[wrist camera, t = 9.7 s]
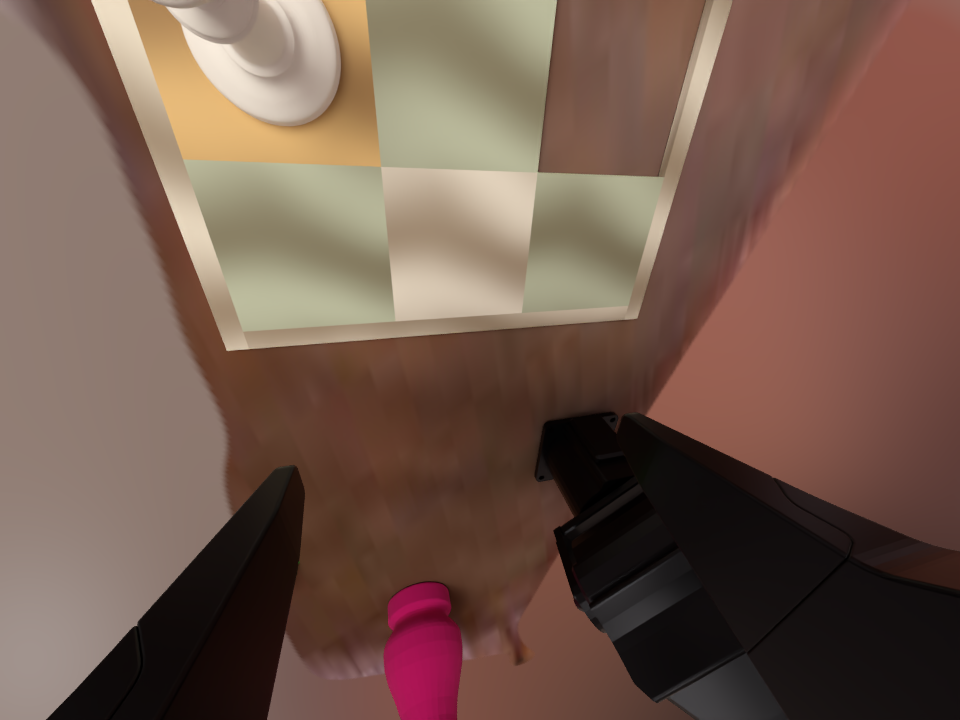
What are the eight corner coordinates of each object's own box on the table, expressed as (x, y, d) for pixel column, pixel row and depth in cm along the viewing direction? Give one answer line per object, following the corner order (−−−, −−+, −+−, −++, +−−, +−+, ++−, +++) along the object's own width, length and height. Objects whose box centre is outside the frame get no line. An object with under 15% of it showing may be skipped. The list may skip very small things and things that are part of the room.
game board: (632, 315, 24) (637, 318, 23) (230, 346, 18) (227, 350, 18) (736, -41, 15) (746, -47, 15) (21, -208, 9) (4, -225, 9)
